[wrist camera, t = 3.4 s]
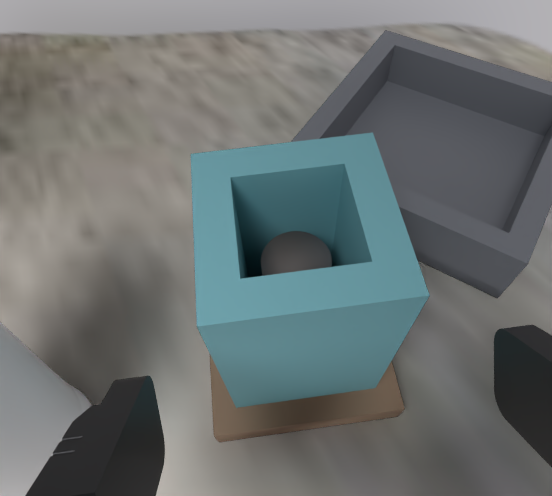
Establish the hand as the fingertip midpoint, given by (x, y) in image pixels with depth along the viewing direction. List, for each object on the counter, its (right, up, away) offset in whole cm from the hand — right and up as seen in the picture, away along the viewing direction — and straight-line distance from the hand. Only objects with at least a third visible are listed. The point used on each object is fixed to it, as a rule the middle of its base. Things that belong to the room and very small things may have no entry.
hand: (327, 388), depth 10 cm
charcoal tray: (+8, +8, +17) cm, 21 cm away
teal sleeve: (0, -1, +10) cm, 10 cm away
